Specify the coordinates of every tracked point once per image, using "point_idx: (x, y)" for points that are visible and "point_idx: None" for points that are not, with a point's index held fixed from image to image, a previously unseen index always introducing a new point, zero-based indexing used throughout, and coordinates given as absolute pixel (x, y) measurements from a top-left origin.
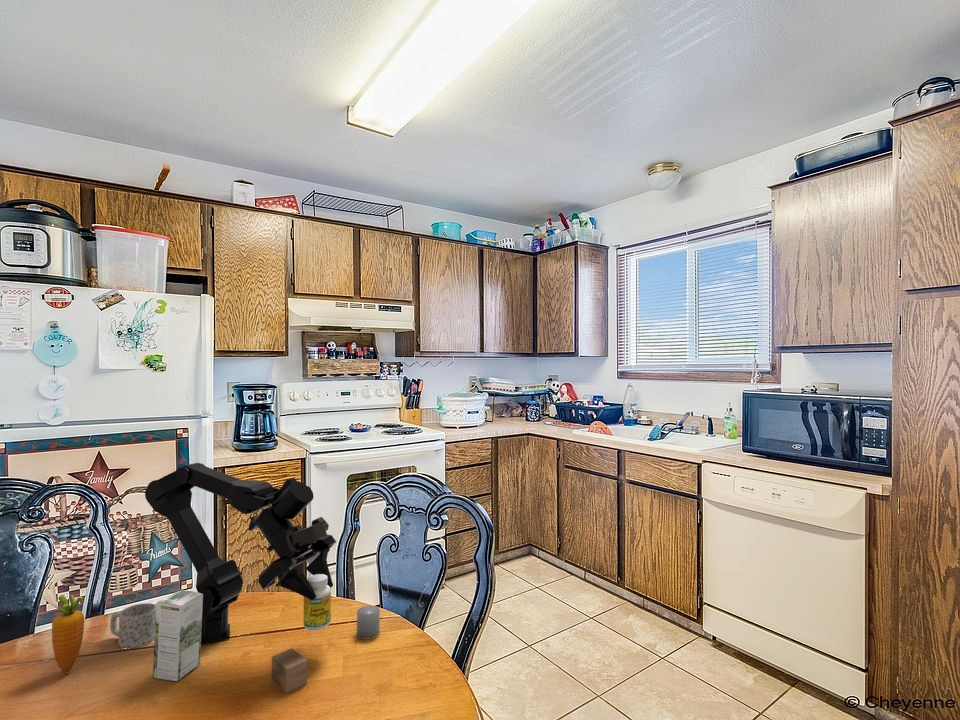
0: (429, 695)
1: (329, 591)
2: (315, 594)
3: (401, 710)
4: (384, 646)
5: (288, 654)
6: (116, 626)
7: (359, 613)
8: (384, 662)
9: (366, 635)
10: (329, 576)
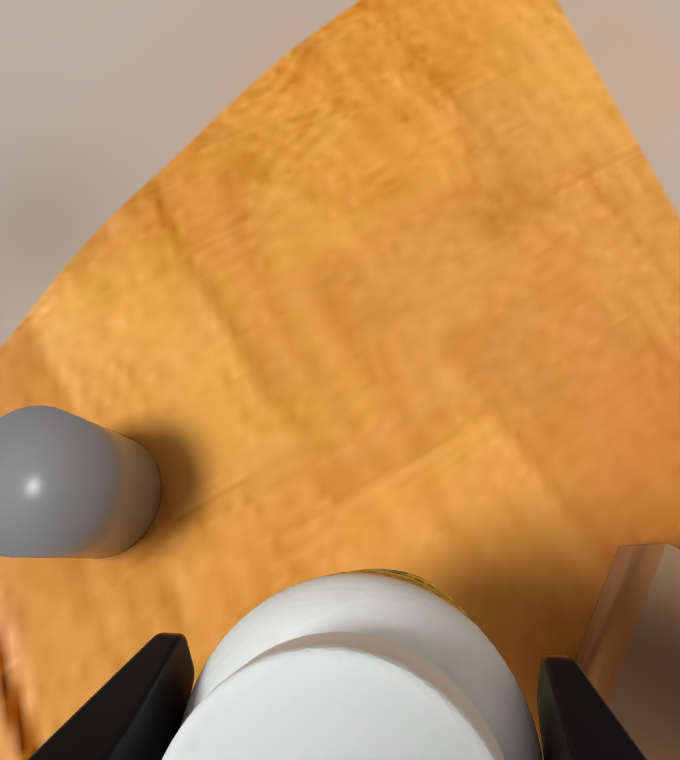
0: (478, 42)
1: (326, 581)
2: (553, 677)
3: (598, 85)
4: (205, 352)
5: (667, 722)
6: None
7: (69, 518)
8: (329, 288)
9: (151, 470)
10: (80, 738)
